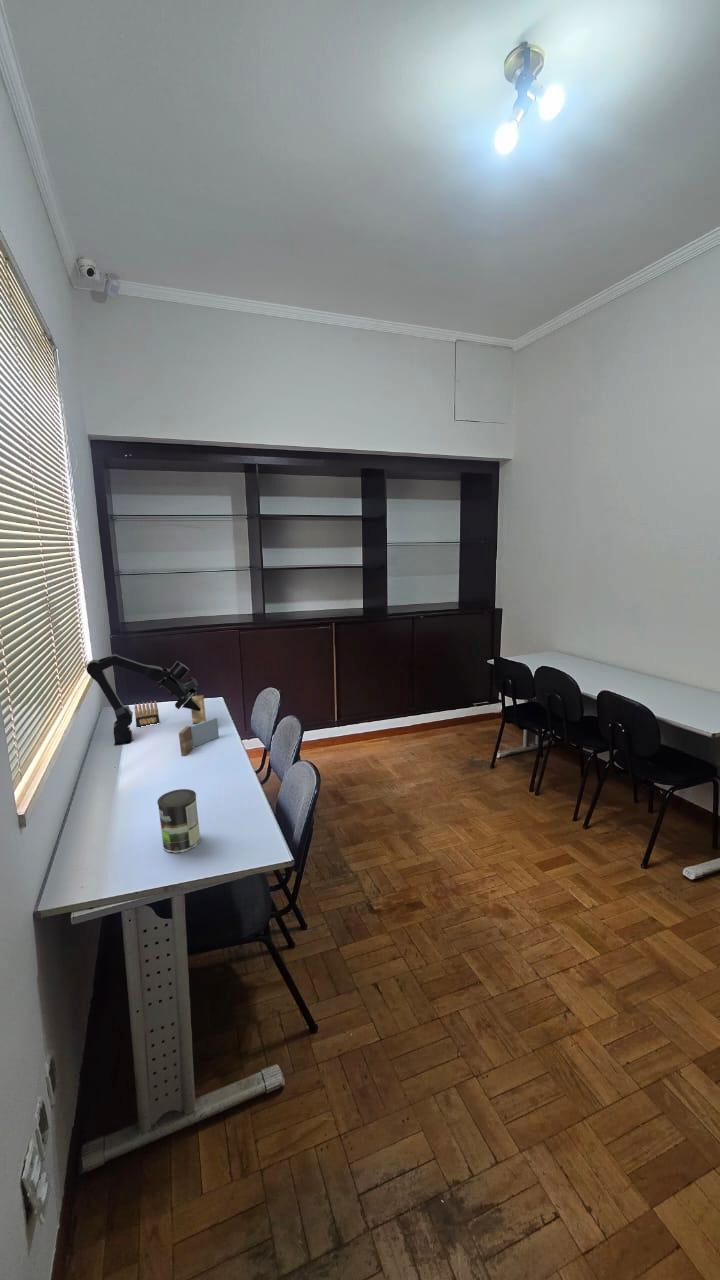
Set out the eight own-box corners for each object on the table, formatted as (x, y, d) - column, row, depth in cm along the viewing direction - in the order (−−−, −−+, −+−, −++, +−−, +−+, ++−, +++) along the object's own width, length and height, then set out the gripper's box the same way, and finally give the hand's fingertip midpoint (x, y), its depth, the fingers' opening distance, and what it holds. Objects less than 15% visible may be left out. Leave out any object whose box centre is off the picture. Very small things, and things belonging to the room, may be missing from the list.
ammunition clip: (136, 728, 248) (133, 704, 245) (136, 726, 249) (133, 703, 247) (160, 724, 252) (157, 700, 249) (159, 723, 253) (157, 699, 251)
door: (192, 746, 220) (190, 726, 218) (217, 736, 230) (215, 717, 228) (193, 746, 219) (191, 726, 217) (219, 737, 229) (217, 717, 227)
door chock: (192, 724, 235) (190, 698, 233) (195, 721, 239) (192, 695, 237) (203, 723, 236) (201, 697, 233) (205, 721, 239) (203, 695, 237)
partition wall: (181, 756, 210) (178, 732, 208) (188, 748, 218) (186, 726, 216) (186, 755, 210) (183, 732, 208) (193, 748, 218) (190, 725, 216)
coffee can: (172, 858, 140) (167, 810, 137) (157, 843, 147) (151, 798, 144) (207, 842, 147) (202, 796, 144) (190, 829, 154) (185, 785, 151)
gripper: (179, 679, 224) (207, 702, 226) (191, 669, 242) (216, 690, 245) (163, 697, 225) (191, 720, 227) (175, 686, 243) (201, 707, 246)
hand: (201, 708), depth 236 cm, fingers closed on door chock, 4 cm apart
